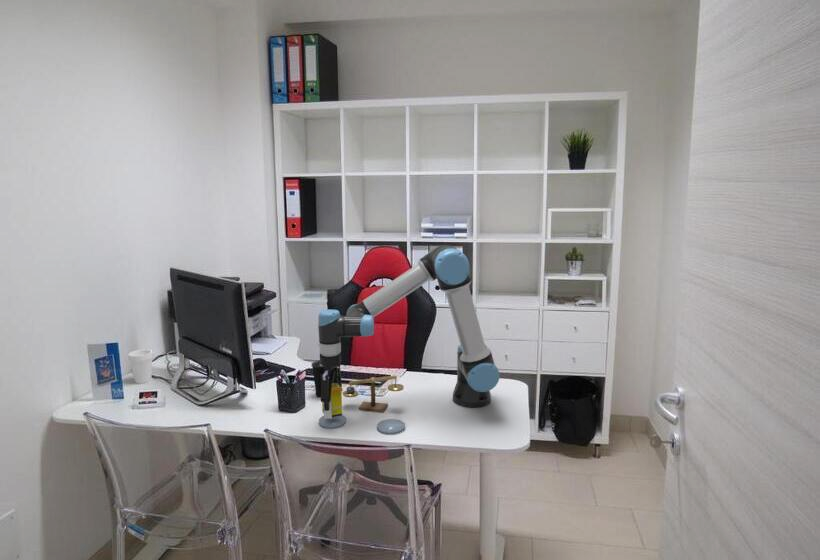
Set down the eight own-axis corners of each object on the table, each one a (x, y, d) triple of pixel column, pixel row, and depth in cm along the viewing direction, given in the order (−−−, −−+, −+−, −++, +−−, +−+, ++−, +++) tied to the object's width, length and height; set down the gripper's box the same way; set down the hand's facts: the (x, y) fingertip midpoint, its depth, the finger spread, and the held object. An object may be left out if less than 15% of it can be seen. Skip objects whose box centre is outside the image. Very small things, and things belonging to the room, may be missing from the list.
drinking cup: (328, 399, 231) (326, 352, 227) (310, 398, 233) (307, 350, 229) (334, 392, 239) (332, 346, 235) (316, 391, 240) (314, 345, 236)
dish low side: (350, 418, 215) (350, 414, 214) (341, 429, 205) (340, 426, 205) (324, 415, 217) (324, 412, 217) (314, 427, 207) (314, 424, 207)
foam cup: (127, 381, 252) (124, 353, 250) (148, 375, 259) (146, 348, 257) (137, 387, 246) (134, 357, 244) (159, 380, 253) (156, 352, 251)
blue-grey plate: (407, 423, 210) (407, 420, 210) (401, 435, 200) (401, 432, 200) (381, 420, 212) (381, 417, 212) (373, 433, 202) (373, 429, 202)
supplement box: (322, 412, 212) (321, 383, 210) (337, 409, 214) (337, 381, 212) (326, 418, 206) (325, 389, 204) (342, 415, 209) (341, 386, 207)
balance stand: (387, 406, 225) (387, 379, 222) (383, 412, 219) (383, 384, 217) (363, 404, 227) (362, 377, 225) (358, 410, 221) (357, 382, 219)
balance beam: (405, 395, 222) (405, 373, 220) (401, 401, 216) (401, 379, 215) (345, 390, 227) (345, 369, 226) (340, 396, 222) (340, 374, 220)
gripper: (330, 343, 217) (332, 401, 221) (308, 362, 197) (311, 424, 201) (349, 345, 215) (351, 402, 219) (329, 363, 195) (332, 426, 199)
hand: (332, 413), depth 210 cm, fingers closed on supplement box, 8 cm apart
